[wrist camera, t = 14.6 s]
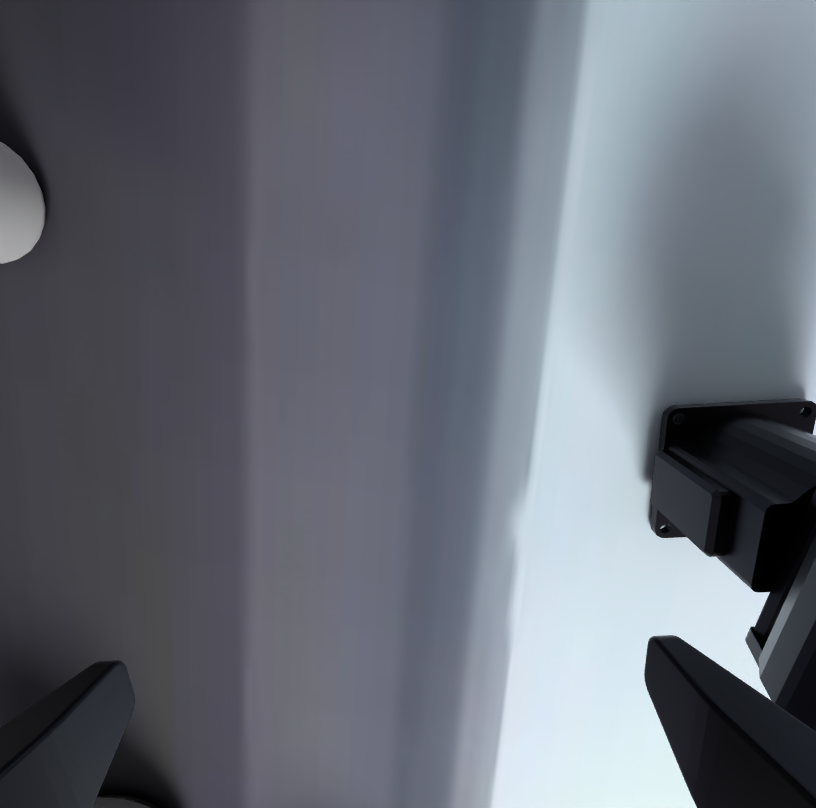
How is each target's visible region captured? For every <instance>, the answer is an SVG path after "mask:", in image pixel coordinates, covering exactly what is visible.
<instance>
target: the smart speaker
mask: <svg viewBox="0 0 816 808" xmlns="http://www.w3.org/2000/svg"><path fill="white" fill-rule="evenodd" d="M92 808H158V807H157V806H155V805H153V804H151V803H149V802H147V801H144V800H141V799H139V798H135V797H130V796H123V795H105V796H98V797H96V800H95V802H94V804H93V806H92Z"/></svg>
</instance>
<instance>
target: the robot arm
mask: <svg viewBox="0 0 816 808" xmlns="http://www.w3.org/2000/svg"><path fill="white" fill-rule="evenodd" d="M803 407H804V410H803V412H802V413H801V414H800V411H801V409H802V408H803ZM676 414H679V418H678V419H677V420H676V421H673V417H674V416H675V415H676ZM815 420H816V404H815V403H813V402H812V401H808V400H805V399H784V400H766V401H747V402H729V403H711V404H692V405H674V406H670V407H669V408H667V409H666V410H665V411H664V413H663V416H662V423H661V432H660V441H659V451H658V453H657V454H656V456H655V463H654V472H653V482H652V491H651V500H650V502H651V504H652V505H653V506H652V515H651V524H650V525H651V529H652V531H653V532H654V533H655V534H656V535H657V536H659V537H661V538H674V537H687V538H689V539H690V540H691V541H692V542H693V543H694V544H695V545H696V546H697V547H698V548H699V549H700V550H701V551H702V552H704V553H705V554H706V555H707V556H709V557H717V558H718V559H719V560H720V561H721V562H722V563H724V564H725V565H726V566H727V567H728V568H729V569H730V570H731V571H732V572H733V573H735V574H736V575H737V576H738V577H739V578H740V579H741V580H742V581H743V582H744V583H746V584H747V585H748V586H749V587H750V588H751V589H752V590H753V591H754V592H770V594H769V596H768V598H767V600H766V603H765V605H764V607H763V609H762V612H761V614H760V616H759V618H758V621H757V623H756V625H755V627H751V628H750V630H749V632H748V634H747V637H746V639H745V640H746V643H747V645H748V647H749V649H750V651H751V653H752V655H753V657H754V659H755V661H756V663H757V665H758V667H759V674H760V679H761V681H762V683H763V685H764V687H765V689H766V691H767V693H768V695H769V697H770V699H771V700H772V701H771V700H769V699H768V698H766V697H765V696H764V695H762V694H761V693H759V692H758V691H756V690H755V689H753V688H752V687H750V686H749V685H748V684H746V683H745V682H743V681H742V680H740V679H739V678H737V677H736V676H734V675H733V674H732V673H730V672H729V671H727V670H726V669H724V668H723V667H721V666H720V665H719V664H717V663H716V662H714V661H713V660H711V659H710V658H708V657H707V656H705V655H704V654H703V653H701V652H700V651H698V650H697V649H695V648H694V647H692V646H691V645H689V644H688V643H687V642H685V641H684V640H682V639H681V638H679V637H677V636H673V635H668V636H653V637H651V638H650V639H649V641H648V647H647V655H646V664H645V683H646V687H647V690H648V692H649V695H650V697H651V700H652V702H653V705H654V707H655V709H656V712H657V714H658V717H659V719H660V722H661V724H662V726H663V729H664V731H665V734H666V736H667V739H668V741H669V743H670V746H671V748H672V751H673V753H674V755H675V758H676V760H677V763H678V765H679V768H680V770H681V772H682V775H683V777H684V780H685V782H686V784H687V787H688V789H689V791H690V793H691V796H692V798H693V800H694V802H695V804H696V806H697V808H816V436H815V435H812V434H813V429H814V425H815ZM664 524H666V526H665V527H664V528H662V529H660V528H661V526H662V525H664ZM134 704H135V695H134V692H133V688H132V685H131V682H130V678H129V675H128V672H127V668H126V666H125V664H124V663H123V662H122V661H100V662H96V663H94V664H93V665H91V666H89V667H88V668H87V669H85V670H84V671H82V672H81V673H79V674H78V675H76V676H75V677H74V678H72V679H71V680H69V681H68V682H66V683H65V684H63V685H62V686H61V687H59V688H58V689H56V690H55V691H53V692H52V693H50V694H49V695H48V696H46V697H45V698H43V699H42V700H40V701H39V702H37V703H36V704H35V705H33V706H32V707H30V708H29V709H27V710H26V711H24V712H23V713H22V714H20V715H19V716H17V717H16V718H14V719H13V720H11V721H10V722H9V723H7V724H6V725H4V726H3V727H1V728H0V808H92V806H93V804H94V802H95V800H96V797H97V795H98V793H99V790H100V788H101V785H102V783H103V781H104V778H105V776H106V774H107V771H108V769H109V767H110V764H111V762H112V760H113V757H114V755H115V753H116V750H117V748H118V745H119V743H120V741H121V738H122V736H123V734H124V731H125V729H126V727H127V724H128V722H129V720H130V717H131V715H132V712H133V709H134Z"/></svg>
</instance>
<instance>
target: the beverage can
mask: <svg viewBox="0 0 816 808" xmlns="http://www.w3.org/2000/svg"><path fill="white" fill-rule="evenodd" d="M44 224H45V204H44V199H43V194H42V191H41V189H40V187H39V185H38V182H37V180H36V178H35V176H34V174H33V172H32V171H31V170H30V168H29V167H28V166H27V164H26V163H25V162H24V160H23V159H22V158H21V157H20V156H19V155H18V154H16V153H15V152H14V151H13V150H12V149H10V148H9V147H8V146H7V145H5V144H4V143H2V142H0V263H7V262H10V261H14V260H17V259H19V258H21V257H22V256H24V255H25V254H27V253H28V252H30V251H31V250H32V248H33V247H34V245H35V244H36V243H37V241H38V240H39V238H40V236H41V233H42V230H43V227H44Z"/></svg>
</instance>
